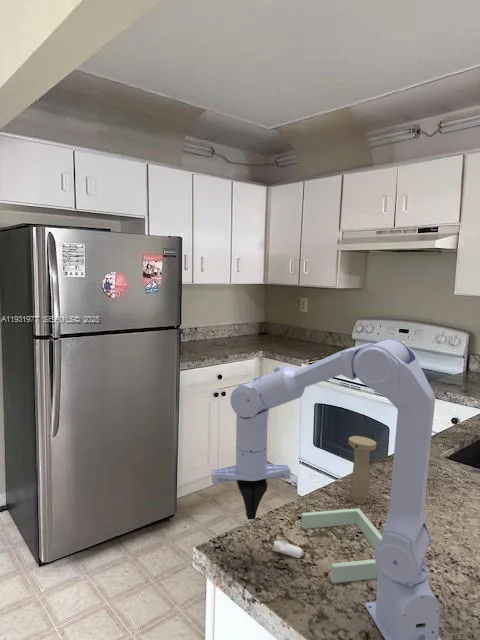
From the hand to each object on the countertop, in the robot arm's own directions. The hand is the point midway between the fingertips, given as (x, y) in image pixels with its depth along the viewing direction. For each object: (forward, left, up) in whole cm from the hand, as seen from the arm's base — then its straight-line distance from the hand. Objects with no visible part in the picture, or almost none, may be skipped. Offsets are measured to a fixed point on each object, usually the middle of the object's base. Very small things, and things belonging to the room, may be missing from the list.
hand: (250, 516), depth 85 cm
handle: (+17, -30, -9) cm, 36 cm away
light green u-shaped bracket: (0, -19, -8) cm, 21 cm away
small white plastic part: (0, -8, -9) cm, 12 cm away
